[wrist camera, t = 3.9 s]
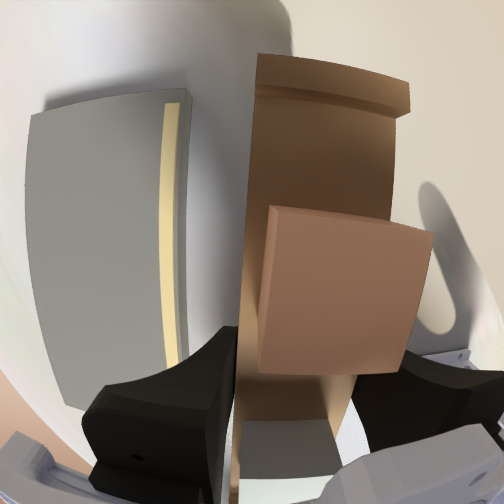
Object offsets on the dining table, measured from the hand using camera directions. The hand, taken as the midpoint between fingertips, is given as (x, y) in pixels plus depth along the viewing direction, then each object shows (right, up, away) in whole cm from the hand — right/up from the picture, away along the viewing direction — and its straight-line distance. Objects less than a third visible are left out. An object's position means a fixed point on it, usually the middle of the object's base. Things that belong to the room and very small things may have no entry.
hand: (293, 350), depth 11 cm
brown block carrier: (0, 0, +2) cm, 2 cm away
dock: (-12, +2, +7) cm, 14 cm away
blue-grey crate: (0, -4, -1) cm, 4 cm away
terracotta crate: (0, +3, -3) cm, 4 cm away
